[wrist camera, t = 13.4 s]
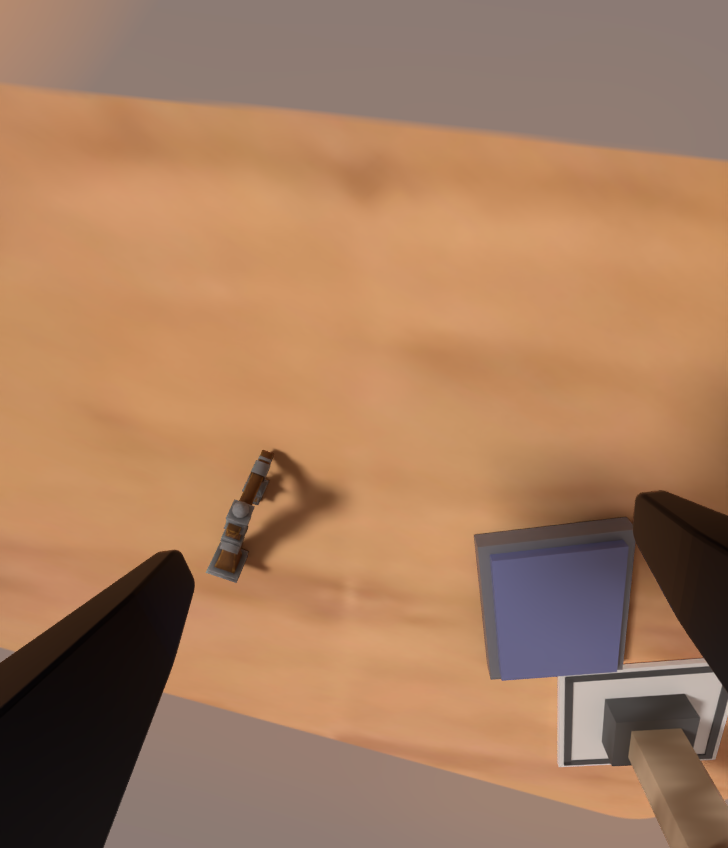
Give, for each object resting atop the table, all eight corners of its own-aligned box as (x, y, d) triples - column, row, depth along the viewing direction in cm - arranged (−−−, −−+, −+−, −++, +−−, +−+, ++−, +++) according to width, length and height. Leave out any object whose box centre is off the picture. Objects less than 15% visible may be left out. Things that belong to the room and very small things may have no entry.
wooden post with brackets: (289, 448, 20) (254, 530, 17) (264, 516, 26) (235, 586, 23) (254, 435, 20) (212, 515, 17) (237, 506, 26) (204, 575, 23)
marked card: (739, 655, 26) (744, 661, 26) (712, 754, 30) (716, 761, 30) (557, 669, 27) (559, 675, 27) (557, 762, 32) (559, 768, 31)
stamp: (684, 693, 27) (814, 894, 19) (675, 737, 29) (789, 936, 21) (604, 698, 28) (697, 895, 20) (601, 741, 30) (684, 936, 22)
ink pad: (626, 517, 22) (642, 535, 21) (614, 654, 26) (626, 677, 25) (473, 534, 23) (479, 553, 22) (487, 664, 27) (492, 687, 26)
